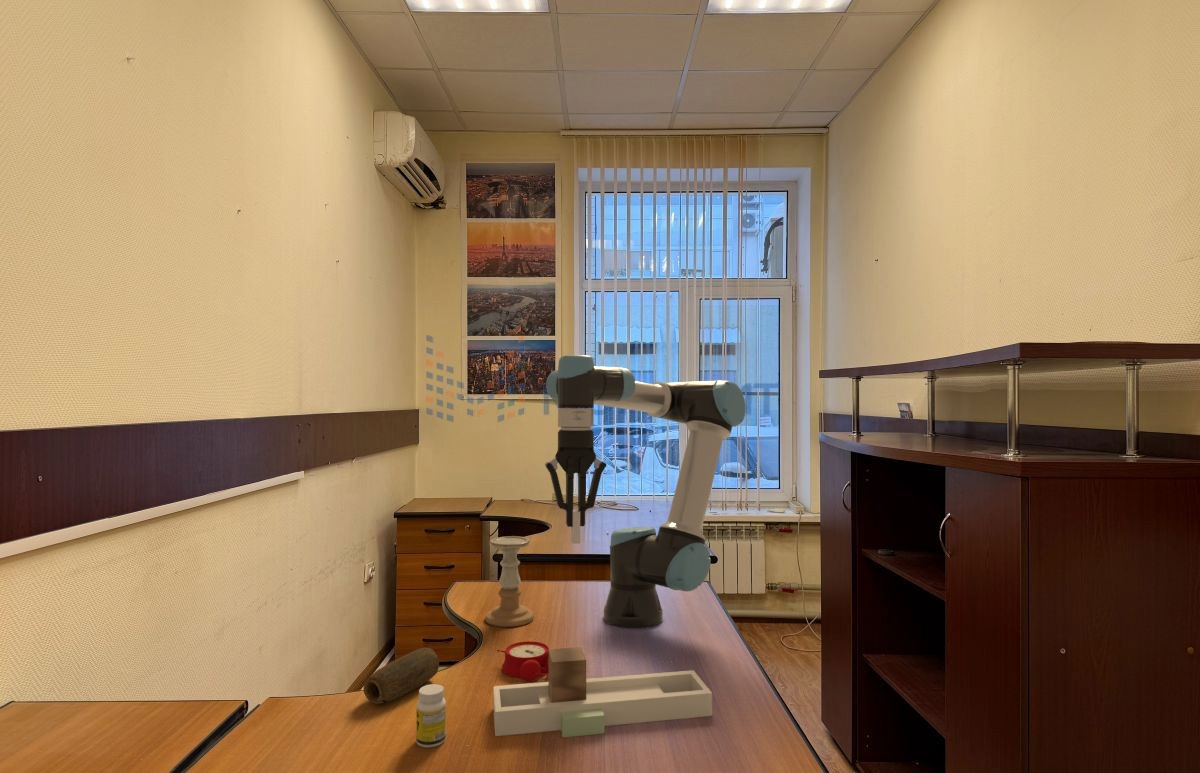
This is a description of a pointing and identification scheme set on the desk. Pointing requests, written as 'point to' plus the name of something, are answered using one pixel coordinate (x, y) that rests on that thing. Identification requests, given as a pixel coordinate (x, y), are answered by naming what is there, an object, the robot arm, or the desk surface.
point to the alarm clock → (526, 660)
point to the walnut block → (567, 675)
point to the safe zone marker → (582, 722)
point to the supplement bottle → (431, 716)
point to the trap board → (603, 701)
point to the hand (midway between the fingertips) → (575, 542)
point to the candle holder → (509, 585)
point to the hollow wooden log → (401, 676)
